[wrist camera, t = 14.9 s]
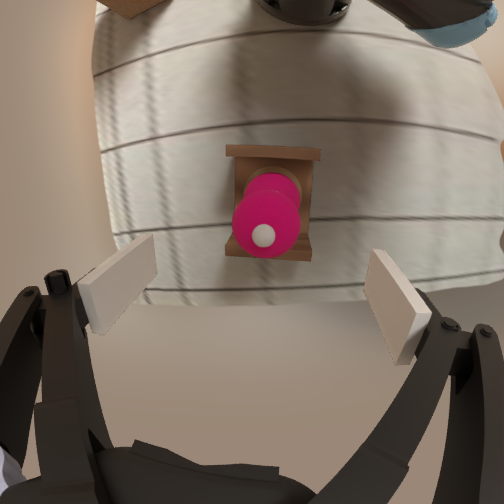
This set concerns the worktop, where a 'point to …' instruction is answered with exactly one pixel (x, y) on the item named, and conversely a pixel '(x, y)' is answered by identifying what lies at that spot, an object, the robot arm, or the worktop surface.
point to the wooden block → (129, 6)
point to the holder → (284, 162)
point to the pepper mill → (268, 216)
